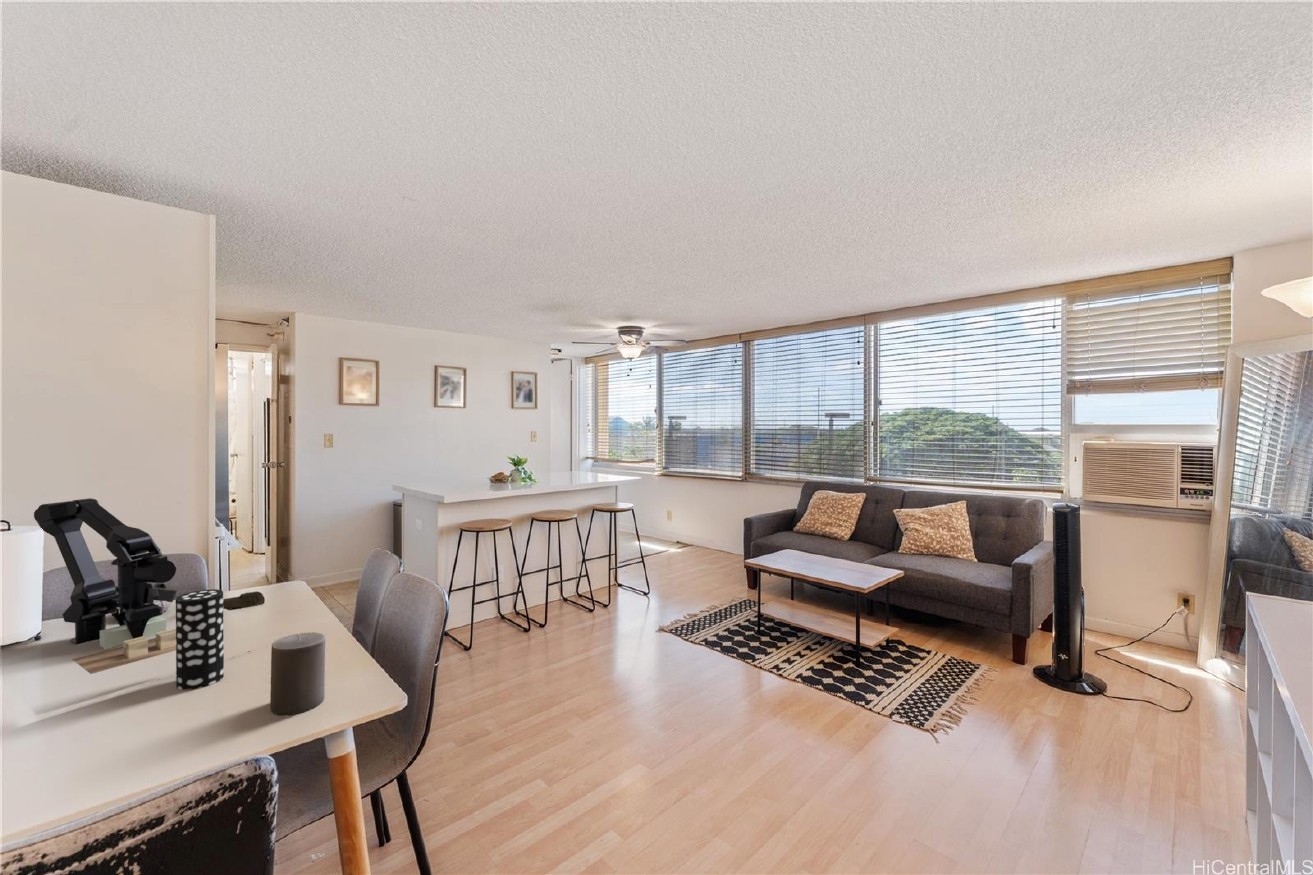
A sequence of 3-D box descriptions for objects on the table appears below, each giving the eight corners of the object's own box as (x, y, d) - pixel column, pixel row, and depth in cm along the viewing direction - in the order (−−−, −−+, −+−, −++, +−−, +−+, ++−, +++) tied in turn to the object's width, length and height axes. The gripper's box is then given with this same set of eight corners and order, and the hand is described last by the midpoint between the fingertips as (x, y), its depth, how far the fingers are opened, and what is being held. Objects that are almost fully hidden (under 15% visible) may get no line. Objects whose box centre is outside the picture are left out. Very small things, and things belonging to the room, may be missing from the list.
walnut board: (72, 665, 130) (72, 659, 130) (195, 632, 151) (195, 627, 151) (91, 680, 123) (91, 673, 123) (218, 643, 144) (217, 638, 144)
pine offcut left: (123, 655, 133) (123, 641, 133) (142, 650, 136) (142, 636, 136) (128, 658, 131) (128, 644, 131) (147, 653, 134) (147, 639, 134)
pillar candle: (283, 720, 108) (284, 647, 108) (261, 706, 113) (262, 635, 113) (334, 700, 116) (335, 632, 116) (311, 688, 122) (312, 622, 121)
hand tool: (186, 618, 162) (186, 603, 162) (188, 614, 166) (188, 599, 165) (264, 607, 173) (264, 593, 173) (264, 603, 176) (264, 589, 176)
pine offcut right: (155, 646, 138) (155, 633, 138) (173, 642, 141) (173, 628, 141) (160, 649, 136) (160, 636, 136) (178, 645, 139) (178, 631, 139)
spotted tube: (232, 676, 126) (231, 591, 126) (191, 692, 119) (191, 603, 118) (208, 670, 129) (207, 587, 128) (167, 686, 121) (166, 598, 121)
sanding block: (99, 651, 138) (99, 630, 138) (160, 636, 149) (160, 616, 149) (105, 655, 136) (104, 634, 136) (166, 639, 147) (166, 619, 146)
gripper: (186, 578, 144) (187, 636, 145) (159, 569, 154) (160, 624, 154) (129, 589, 135) (131, 651, 135) (105, 579, 144) (106, 637, 145)
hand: (134, 639), depth 142 cm, fingers open, 4 cm apart
